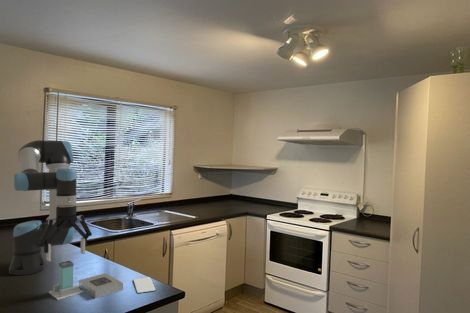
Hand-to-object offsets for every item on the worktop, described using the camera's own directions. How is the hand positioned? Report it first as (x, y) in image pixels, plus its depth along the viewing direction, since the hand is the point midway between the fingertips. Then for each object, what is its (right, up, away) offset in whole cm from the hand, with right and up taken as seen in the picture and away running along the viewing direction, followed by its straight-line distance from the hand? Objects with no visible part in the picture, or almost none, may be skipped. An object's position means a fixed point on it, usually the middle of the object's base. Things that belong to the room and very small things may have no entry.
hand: (66, 256), depth 142 cm
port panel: (+12, -15, +5) cm, 20 cm away
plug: (0, -15, +1) cm, 15 cm away
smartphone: (+30, -16, +9) cm, 35 cm away
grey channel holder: (0, -15, +1) cm, 15 cm away
